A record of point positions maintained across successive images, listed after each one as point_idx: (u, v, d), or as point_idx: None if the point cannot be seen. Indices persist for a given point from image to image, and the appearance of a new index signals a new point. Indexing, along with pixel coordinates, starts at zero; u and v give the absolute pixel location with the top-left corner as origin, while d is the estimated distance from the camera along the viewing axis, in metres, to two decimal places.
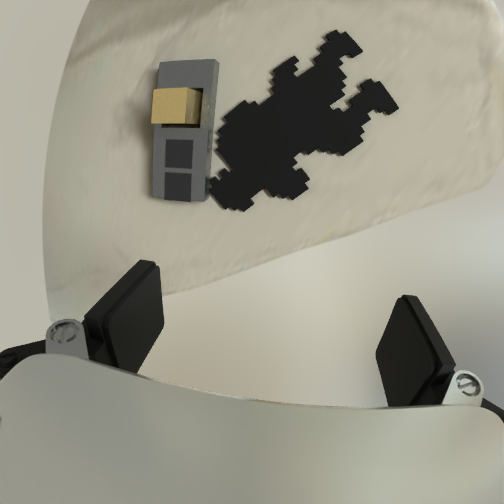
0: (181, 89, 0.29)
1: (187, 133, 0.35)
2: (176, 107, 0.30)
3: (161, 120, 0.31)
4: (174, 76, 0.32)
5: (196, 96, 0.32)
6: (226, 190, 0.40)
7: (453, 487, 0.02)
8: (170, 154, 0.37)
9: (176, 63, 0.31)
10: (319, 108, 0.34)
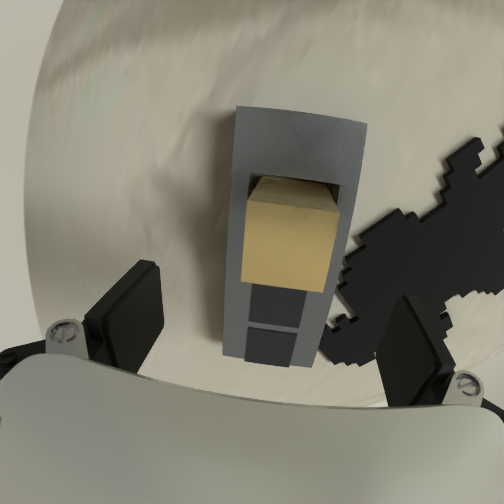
0: (323, 215, 0.13)
1: None
2: (307, 256, 0.14)
3: (267, 280, 0.15)
4: (273, 147, 0.17)
5: None
6: (342, 344, 0.25)
7: (453, 487, 0.02)
8: (260, 303, 0.21)
9: (278, 115, 0.16)
10: (493, 232, 0.18)
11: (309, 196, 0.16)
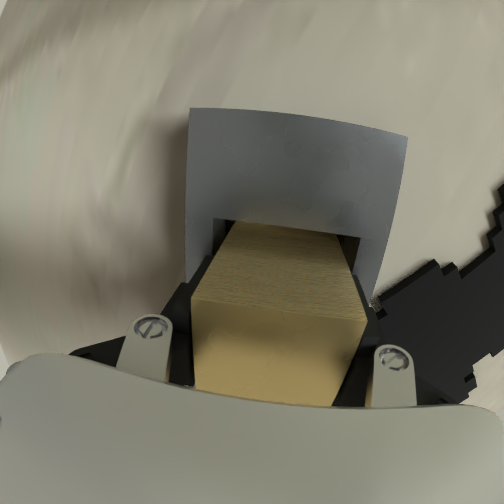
0: (337, 325, 0.07)
1: None
2: (302, 382, 0.08)
3: None
4: (251, 176, 0.10)
5: None
6: None
7: (453, 487, 0.02)
8: None
9: (260, 122, 0.09)
10: None
11: (310, 269, 0.09)
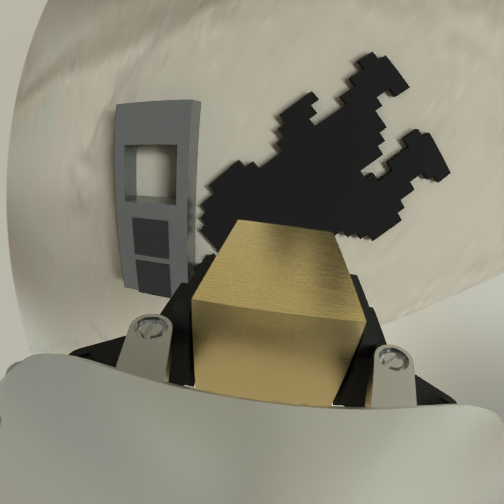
0: (336, 326, 0.07)
1: (159, 211, 0.26)
2: (302, 382, 0.08)
3: None
4: (136, 126, 0.23)
5: None
6: None
7: (453, 487, 0.02)
8: (139, 238, 0.28)
9: (138, 106, 0.22)
10: (346, 174, 0.25)
11: (310, 271, 0.09)
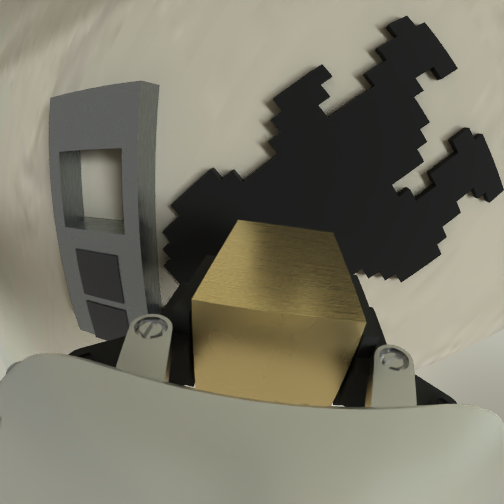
0: (336, 327, 0.07)
1: (105, 242, 0.18)
2: (302, 383, 0.08)
3: None
4: (71, 125, 0.15)
5: None
6: None
7: (453, 487, 0.02)
8: (87, 275, 0.19)
9: (74, 97, 0.14)
10: (372, 190, 0.16)
11: (310, 271, 0.09)
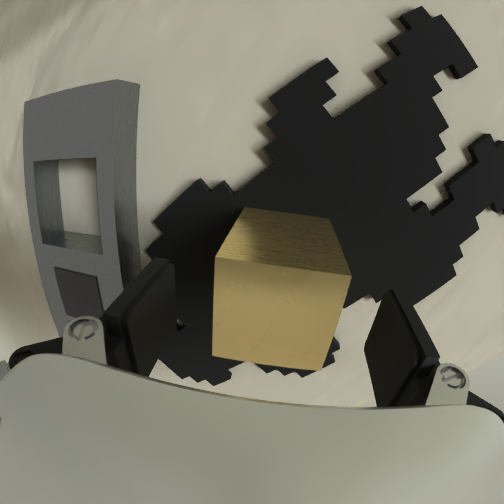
0: (328, 279, 0.09)
1: (83, 262, 0.16)
2: (302, 331, 0.10)
3: (247, 356, 0.11)
4: (45, 132, 0.13)
5: None
6: (179, 355, 0.20)
7: (453, 487, 0.02)
8: (67, 296, 0.17)
9: (47, 101, 0.12)
10: (383, 205, 0.14)
11: (307, 241, 0.11)
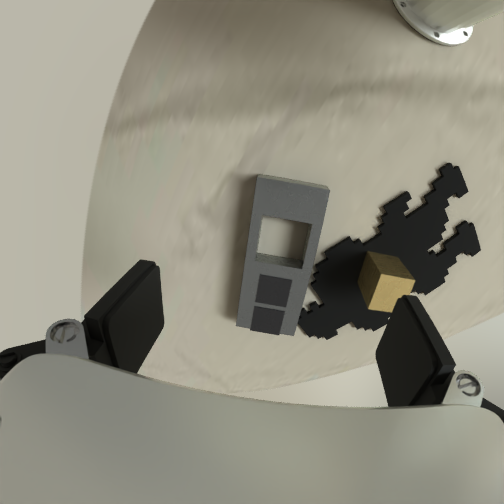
0: (409, 281, 0.28)
1: (286, 272, 0.34)
2: None
3: (379, 308, 0.30)
4: (276, 202, 0.31)
5: None
6: (314, 322, 0.39)
7: (453, 487, 0.02)
8: (263, 291, 0.36)
9: (280, 184, 0.30)
10: (418, 252, 0.33)
11: (398, 268, 0.30)
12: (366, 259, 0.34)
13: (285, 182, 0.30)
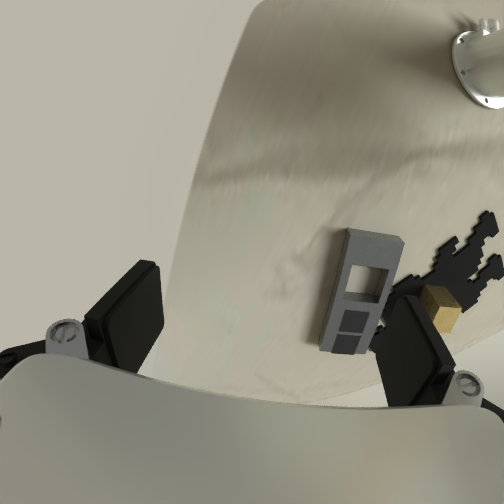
0: (457, 309, 0.33)
1: (366, 307, 0.39)
2: (449, 322, 0.34)
3: None
4: (364, 253, 0.36)
5: None
6: (379, 341, 0.44)
7: (453, 487, 0.02)
8: (346, 322, 0.41)
9: (368, 240, 0.35)
10: (460, 281, 0.38)
11: (448, 298, 0.35)
12: (423, 291, 0.38)
13: (372, 238, 0.35)
